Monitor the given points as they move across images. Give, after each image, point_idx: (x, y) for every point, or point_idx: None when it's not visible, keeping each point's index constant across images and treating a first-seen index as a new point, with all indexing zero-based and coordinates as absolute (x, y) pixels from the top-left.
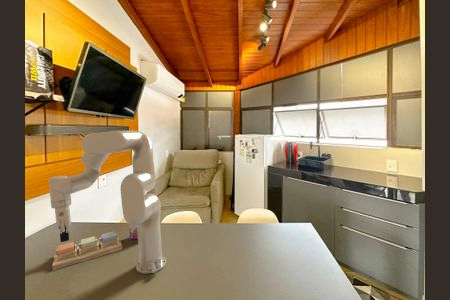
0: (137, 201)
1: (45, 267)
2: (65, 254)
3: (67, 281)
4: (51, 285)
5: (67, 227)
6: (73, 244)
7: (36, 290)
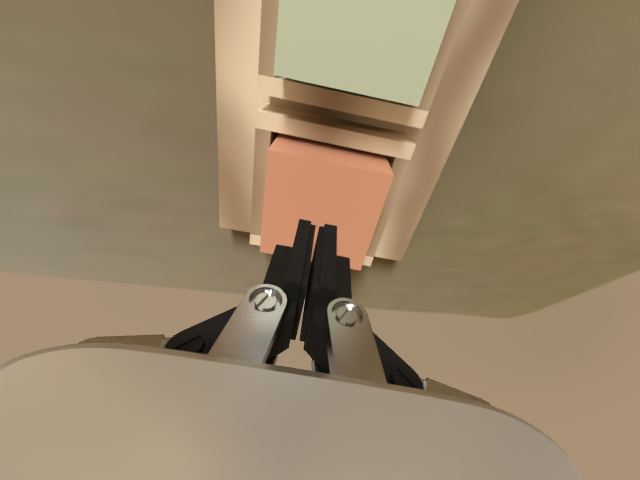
0: None
1: None
2: (388, 216)
3: (589, 220)
4: (533, 269)
5: (239, 320)
6: (341, 165)
7: (504, 305)
